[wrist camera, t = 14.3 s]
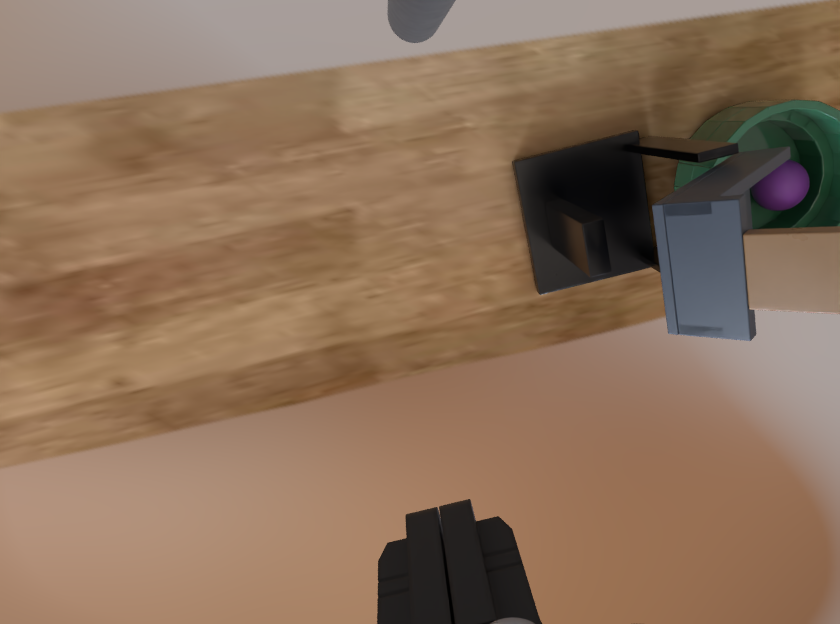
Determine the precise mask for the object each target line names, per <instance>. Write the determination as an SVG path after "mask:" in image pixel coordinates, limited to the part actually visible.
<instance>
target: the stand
mask: <svg viewBox="0 0 840 624" xmlns="http://www.w3.org/2000/svg"><path fill="white" fill-rule="evenodd" d="M738 153H739V148H738V143H729V142H717V141H705V140H694V139H682V138H670V137H658V136H647V137H643V138H639V132H638V131H637V130H632V131H628V132H624V133H620V134H617V135H613V136H609V137H605V138H601V139H597V140H593V141H589V142H585V143H581V144H577V145H573V146H569V147H565V148H562V149H558V150H554V151H550V152H546V153H542V154H538V155H534V156H530V157H526V158H522V159H518V160H514V161H512V165H513V170H514V175H515V180H516V185H517V190H518V196H519V201H520V206H521V211H522V216H523V221H524V227H525V232H526V237H527V242H528V247H529V253H530V258H531V263H532V268H533V273H534V278H535V284H536V289H537V292H538V293H539V294H540V295H542V294H546V293H550V292H554V291H558V290H562V289H566V288H570V287H574V286H578V285H582V284H586V283H590V282H594V281H598V280H602V279H606V278H610V277H614V276H618V275H622V274H626V273H630V272H634V271H638V270H642V269H646V268H650V267H652V268H653V269H655V270H657V271H659V272H660V265H659V257H658V249H657V247H653V241H652V233H651V225H650V217H649V210H648V202H647V194H646V187H645V179H644V171H643V163H642V156H641V154H645V155H651V156H658V157H664V158H670V159H677V160H683V161H689V162H696V163H702V162H706V161H710V160H714V159H718V158H722V157H726V156H730V155H734V154H738Z"/></svg>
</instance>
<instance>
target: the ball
mask: <svg viewBox="0 0 840 624" xmlns="http://www.w3.org/2000/svg"><path fill="white" fill-rule="evenodd" d="M809 183H810V181H809V176H808V173H807V171H806V170H805V168H804V167H803V166H802V165H800V164H799V163H797V162H795V161H793V160H789V159H788V160H787V161H786V162H784V163H783V164H782V165H780V166H779V167H777V168H776V169H775V170H773V171H772V172H771V173H769V174H768V175H767V176H765V177H764V178H763V179H761V180H760V181H759V182H757V183H756V184H755V185H753V186H752V187H751V193H752V196H753V198H754V200H755V201H756V202H757V203H758V204H759V205H760V206H761V207H763V208H765V209H768V210H772V211H782V210H787V209H790V208H792V207H794V206H796V205H797V204H798V203H800V202H801V201H802V200H803V199H804V197H805V196H806V194H807V192H808V189H809Z"/></svg>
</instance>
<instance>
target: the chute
mask: <svg viewBox="0 0 840 624" xmlns="http://www.w3.org/2000/svg"><path fill="white" fill-rule="evenodd" d="M790 157H791V155H790V147H789V146H788V147H779V148H770V149H762V150H753V151H747V152H739V153H738V154H734V155H732V156H731V157H729V158H728V159H726V160H724V161H723V162H721V163H719V164H718V165H716V166H715V167H713V168H711V169H710V170H708V171H706V172H705V173H703V174H702V175H700V176H698V177H697V178H695V179H694V180H692V181H690V182H689V183H687V184H685V185H684V186H682V187H681V188H679V189H677V190H676V191H674V192H672V193H671V194H669V195H668V196H666V197H664V198H663V199H661V200H659V201H658V202H656V203H655V204H653V205H652V210H653V218H654V226H655V233H656V241H657V249H658V257H659V265H660V273H661V281H662V288H663V296H664V304H665V312H666V320H667V328H668V333H669V334H676V335H678V334H680V335H687V336H699V337H711V338H722V339H734V340H746V341H751V340H752V339H753V338H754V336H755V335H756V326H755V314H754V310H770V311H789V312H809V313H829V314H840V226H835V227H805V228H775V229H753V227H752V214H751V201H750V188H751V187H752V186H753V185H755V184H756V183H757V182H759V181H760V180H761V179H763V178H764V177H765V176H767V175H768V174H769V173H771V172H772V171H773V170H775V169H776V168H777V167H779V166H780V165H782V164H783V163H784V162H786V161H787V160H788V159H790Z"/></svg>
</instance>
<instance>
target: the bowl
mask: <svg viewBox="0 0 840 624" xmlns="http://www.w3.org/2000/svg"><path fill="white" fill-rule="evenodd" d="M690 139H694V140H705V141H717V142H729V143H738V148H739V152H747V151H753V150H762V149H770V148H779V147H788V146H789V147H790V155H791V157H790V159H789V160H793V161H795V162H797V163H799V164H800V165H802V166H803V167H804V168H805V170H806V171H807V173H808V176H809V181H810V183H809V189H808V192H807V194H806V196H805V197H804V199H803V200H802V201H801V202H800V203H798V204H797V205H796V206H794V207H792V208H790V209H787V210H782V211H772V210H768V209H765V208H763V207H761V206H760V205H759V204H758V203H757V202H756V201H755V200H754V198H753V196H752V193H751V188H750V201H751V214H752V227H753V229H775V228H805V227H835V226H840V110H838V109H835V108H833V107H831V106H829V105H827V104H825V103H822V102H819V101H810V100H769V101H749V102H745V103H742V104H738V105H734V106H731V107H728V108H726V109H724V110H723V111H721V112H719V113H718V114H716V115H715V116H713V117H711V118H710V119H708V120H707V121H705V122H704V124H703V125H702V126H701V127H700V128H699V129H698V130H697V131H696V133H695V134H694V135H693V136H692V137H691V138H690ZM731 156H732V155H730V156H726V157H722V158H718V159H714V160H710V161H706V162H702V163H696V162H689V161H683V160H679V163H678V166H677V172H676V178H675V183H674V185H675V186H674V191H676V190H677V189H679V188H681V187H682V186H684V185H685V184H687V183H689V182H690V181H692V180H694V179H695V178H697V177H698V176H700V175H702V174H703V173H705V172H706V171H708V170H710V169H711V168H713V167H715V166H716V165H718V164H719V163H721V162H723V161H724V160H726V159H728V158H729V157H731Z"/></svg>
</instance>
